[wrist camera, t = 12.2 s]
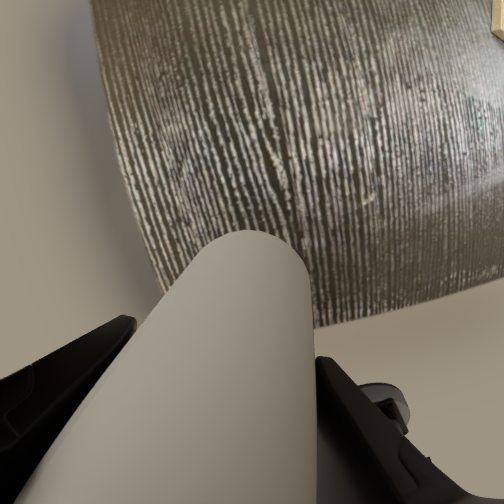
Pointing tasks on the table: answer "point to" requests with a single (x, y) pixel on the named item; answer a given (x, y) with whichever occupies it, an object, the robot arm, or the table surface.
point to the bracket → (498, 18)
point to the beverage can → (202, 393)
